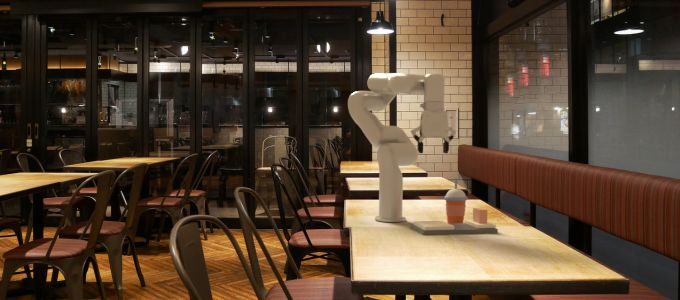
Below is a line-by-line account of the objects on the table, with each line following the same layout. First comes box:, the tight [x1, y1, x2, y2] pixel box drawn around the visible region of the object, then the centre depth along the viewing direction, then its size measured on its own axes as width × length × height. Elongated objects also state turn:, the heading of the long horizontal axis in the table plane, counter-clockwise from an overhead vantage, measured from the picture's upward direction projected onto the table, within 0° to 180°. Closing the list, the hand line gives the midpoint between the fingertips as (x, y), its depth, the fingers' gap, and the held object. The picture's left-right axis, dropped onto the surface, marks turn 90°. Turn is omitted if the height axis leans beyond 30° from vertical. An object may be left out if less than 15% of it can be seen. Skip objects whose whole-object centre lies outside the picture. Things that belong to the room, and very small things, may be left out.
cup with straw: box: [443, 177, 468, 224], centre depth 242 cm, size 9×9×18 cm
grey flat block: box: [409, 220, 499, 236], centre depth 223 cm, size 15×28×3 cm, turn 101°
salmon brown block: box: [464, 207, 497, 229], centre depth 224 cm, size 12×7×6 cm, turn 11°
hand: (433, 153), depth 227 cm, fingers open, 9 cm apart
